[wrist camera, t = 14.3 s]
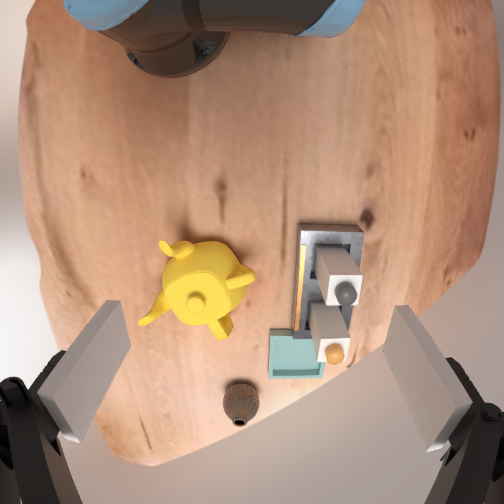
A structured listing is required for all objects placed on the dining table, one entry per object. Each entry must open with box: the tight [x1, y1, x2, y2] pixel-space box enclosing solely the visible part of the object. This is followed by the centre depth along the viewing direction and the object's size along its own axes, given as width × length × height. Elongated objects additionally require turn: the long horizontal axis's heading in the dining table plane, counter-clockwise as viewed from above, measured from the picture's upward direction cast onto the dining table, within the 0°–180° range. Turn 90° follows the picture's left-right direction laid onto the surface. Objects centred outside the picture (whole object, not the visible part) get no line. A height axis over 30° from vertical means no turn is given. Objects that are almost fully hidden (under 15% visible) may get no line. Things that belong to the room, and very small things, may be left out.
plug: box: [308, 300, 351, 364], centre depth 43 cm, size 4×4×12 cm
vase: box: [223, 383, 259, 427], centre depth 53 cm, size 7×7×9 cm
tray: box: [268, 329, 325, 378], centre depth 52 cm, size 10×10×2 cm
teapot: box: [138, 240, 256, 341], centre depth 44 cm, size 14×13×10 cm
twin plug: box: [313, 243, 363, 306], centre depth 40 cm, size 4×4×12 cm
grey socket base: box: [291, 224, 364, 339], centre depth 46 cm, size 9×18×4 cm, turn 0°
